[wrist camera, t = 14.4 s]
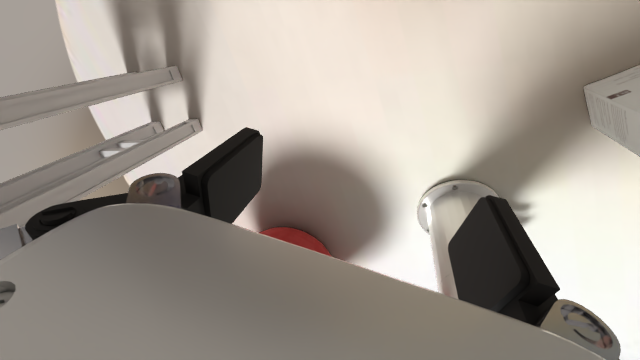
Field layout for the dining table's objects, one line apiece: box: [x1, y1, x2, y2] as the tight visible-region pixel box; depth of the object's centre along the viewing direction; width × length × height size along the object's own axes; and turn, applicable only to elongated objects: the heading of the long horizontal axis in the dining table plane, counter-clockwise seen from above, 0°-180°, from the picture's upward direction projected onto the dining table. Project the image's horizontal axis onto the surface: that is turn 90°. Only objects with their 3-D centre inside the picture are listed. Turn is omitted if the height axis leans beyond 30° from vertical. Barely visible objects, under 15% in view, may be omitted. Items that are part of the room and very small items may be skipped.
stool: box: [0, 66, 202, 229], centre depth 31 cm, size 16×16×35 cm
